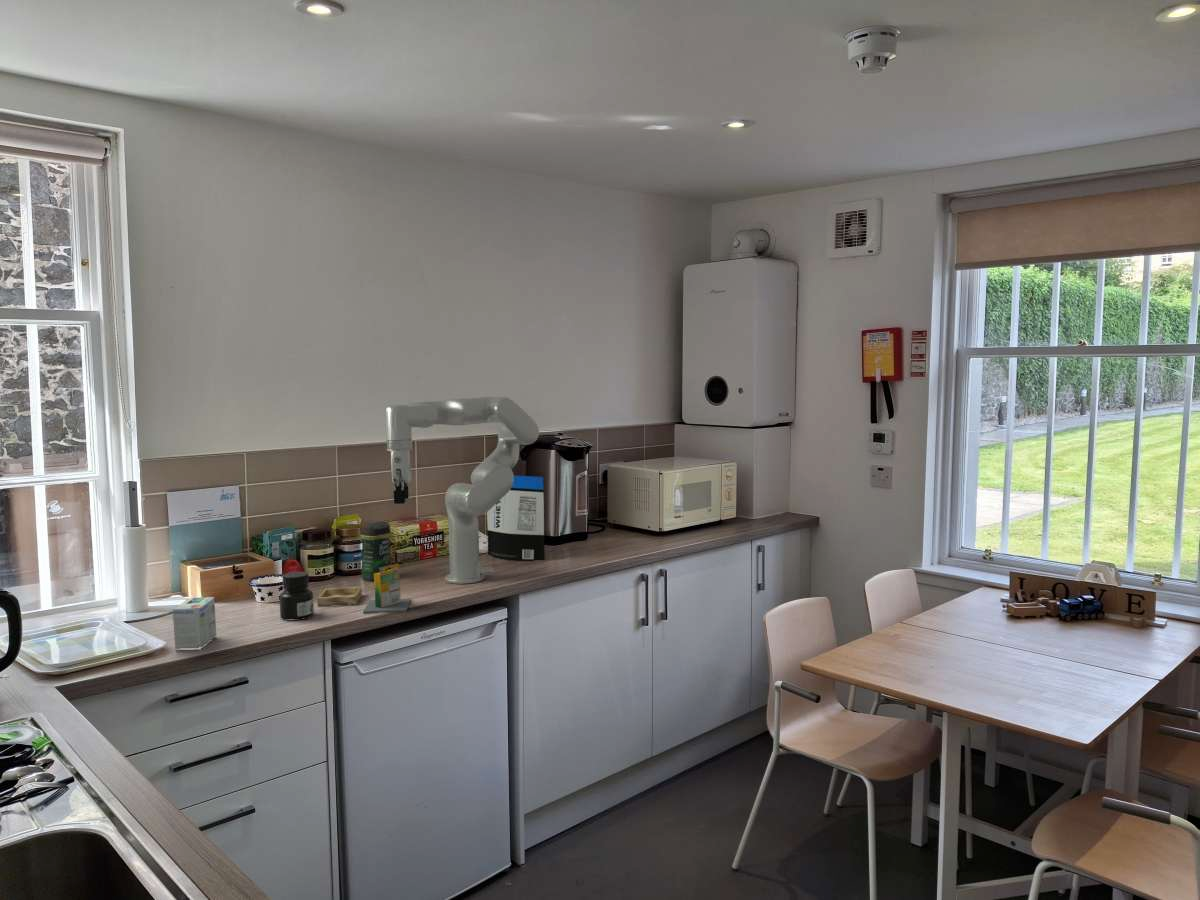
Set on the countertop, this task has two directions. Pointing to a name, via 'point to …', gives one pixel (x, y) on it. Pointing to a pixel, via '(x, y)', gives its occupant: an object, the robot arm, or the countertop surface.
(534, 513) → the protein powder
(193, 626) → the light bulb box
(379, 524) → the coffee jar
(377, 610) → the mat
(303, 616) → the ink bottle
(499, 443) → the robot arm
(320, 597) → the tray
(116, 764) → the countertop surface
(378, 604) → the crayon box
